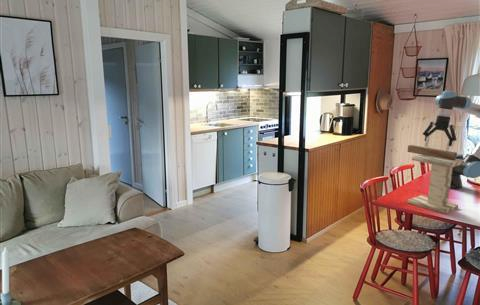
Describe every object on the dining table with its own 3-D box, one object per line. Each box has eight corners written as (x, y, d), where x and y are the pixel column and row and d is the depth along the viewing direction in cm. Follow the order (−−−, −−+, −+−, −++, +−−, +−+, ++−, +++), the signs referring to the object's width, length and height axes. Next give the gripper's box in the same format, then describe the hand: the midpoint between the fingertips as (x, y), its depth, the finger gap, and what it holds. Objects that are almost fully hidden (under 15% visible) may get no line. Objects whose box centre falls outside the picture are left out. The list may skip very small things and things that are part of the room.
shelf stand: (421, 197, 232) (427, 153, 225) (457, 208, 214) (464, 160, 208) (407, 202, 223) (412, 156, 217) (443, 213, 205) (450, 163, 199)
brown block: (411, 151, 233) (411, 144, 232) (456, 159, 210) (457, 152, 210) (407, 151, 231) (408, 145, 230) (452, 160, 208) (453, 153, 207)
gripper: (421, 112, 236) (414, 144, 240) (462, 118, 216) (453, 153, 220) (427, 113, 241) (420, 144, 244) (467, 119, 221) (459, 153, 225)
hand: (436, 148), depth 232 cm, fingers open, 13 cm apart
